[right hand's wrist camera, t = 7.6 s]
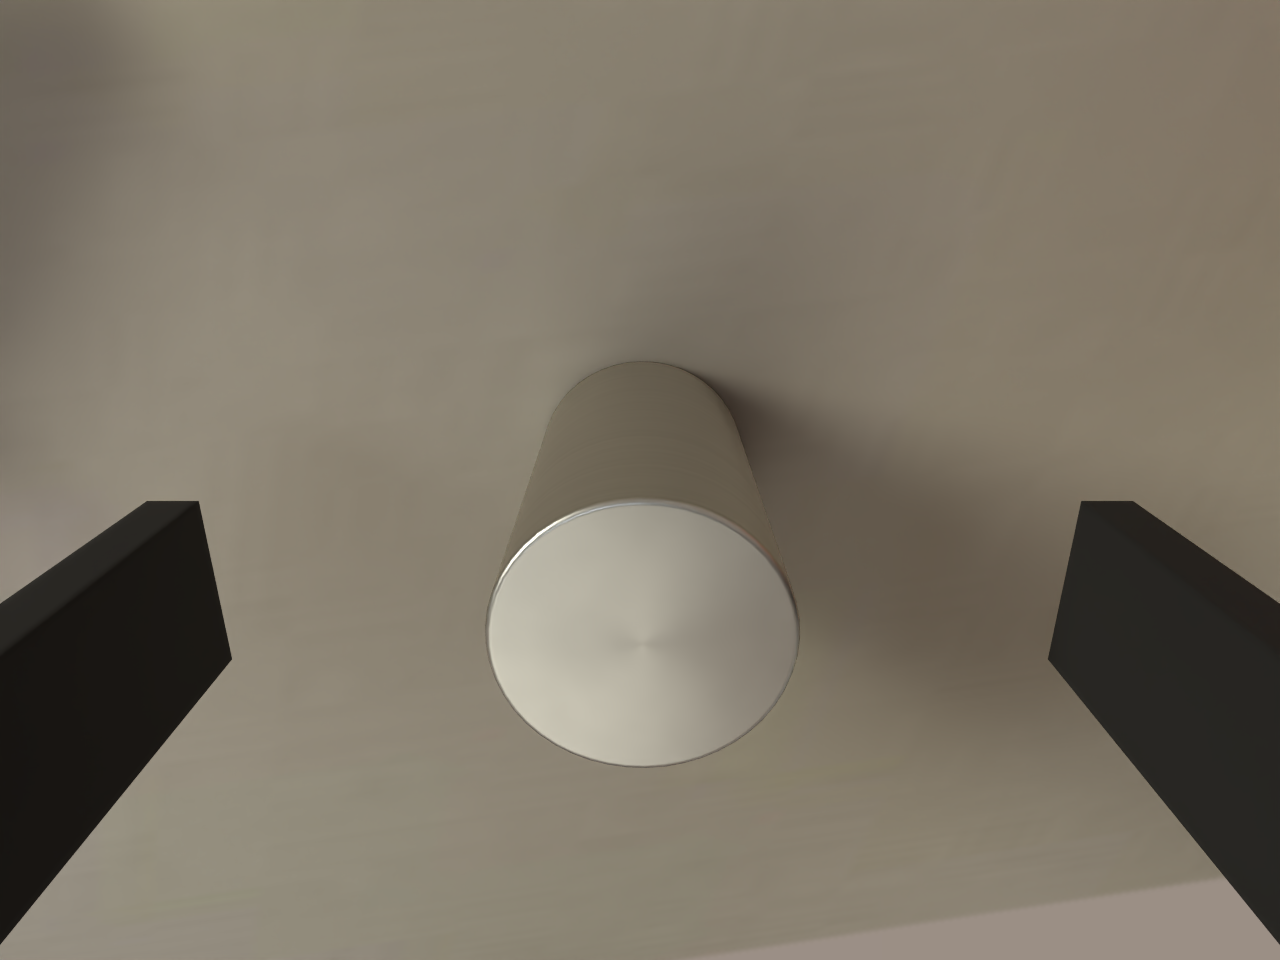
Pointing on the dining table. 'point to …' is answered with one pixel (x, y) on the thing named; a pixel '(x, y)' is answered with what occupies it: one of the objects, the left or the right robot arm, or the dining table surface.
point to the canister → (642, 578)
